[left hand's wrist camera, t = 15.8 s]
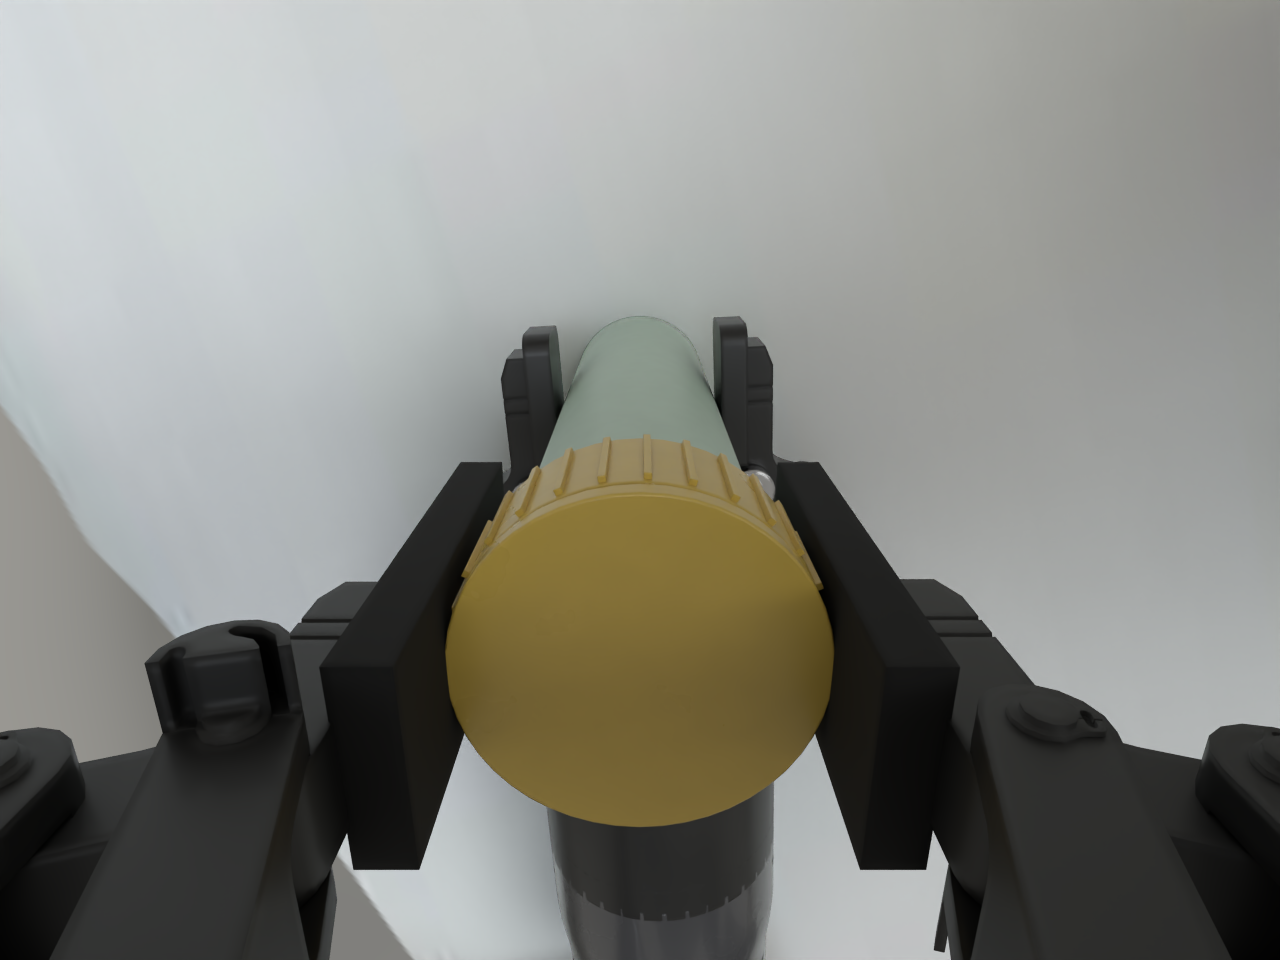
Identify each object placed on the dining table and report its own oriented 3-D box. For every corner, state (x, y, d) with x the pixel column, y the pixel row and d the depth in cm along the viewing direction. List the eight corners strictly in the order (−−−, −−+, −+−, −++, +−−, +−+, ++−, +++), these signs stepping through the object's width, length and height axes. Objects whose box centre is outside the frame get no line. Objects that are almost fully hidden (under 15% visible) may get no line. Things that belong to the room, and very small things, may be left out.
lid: (409, 534, 12) (356, 609, 10) (706, 367, 11) (724, 409, 9) (585, 770, 13) (574, 882, 11) (858, 642, 12) (905, 735, 10)
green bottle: (657, 290, 26) (688, 440, 9) (724, 395, 27) (854, 687, 11) (553, 361, 27) (416, 612, 10) (623, 459, 28) (600, 822, 11)
